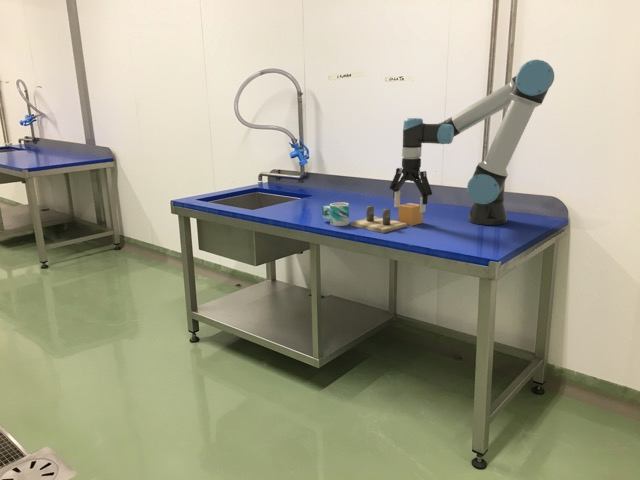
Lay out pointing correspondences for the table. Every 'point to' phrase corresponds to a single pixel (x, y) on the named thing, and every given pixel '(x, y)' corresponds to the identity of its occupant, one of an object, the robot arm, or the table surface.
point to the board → (378, 222)
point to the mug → (337, 213)
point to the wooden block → (410, 214)
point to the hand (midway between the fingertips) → (409, 209)
